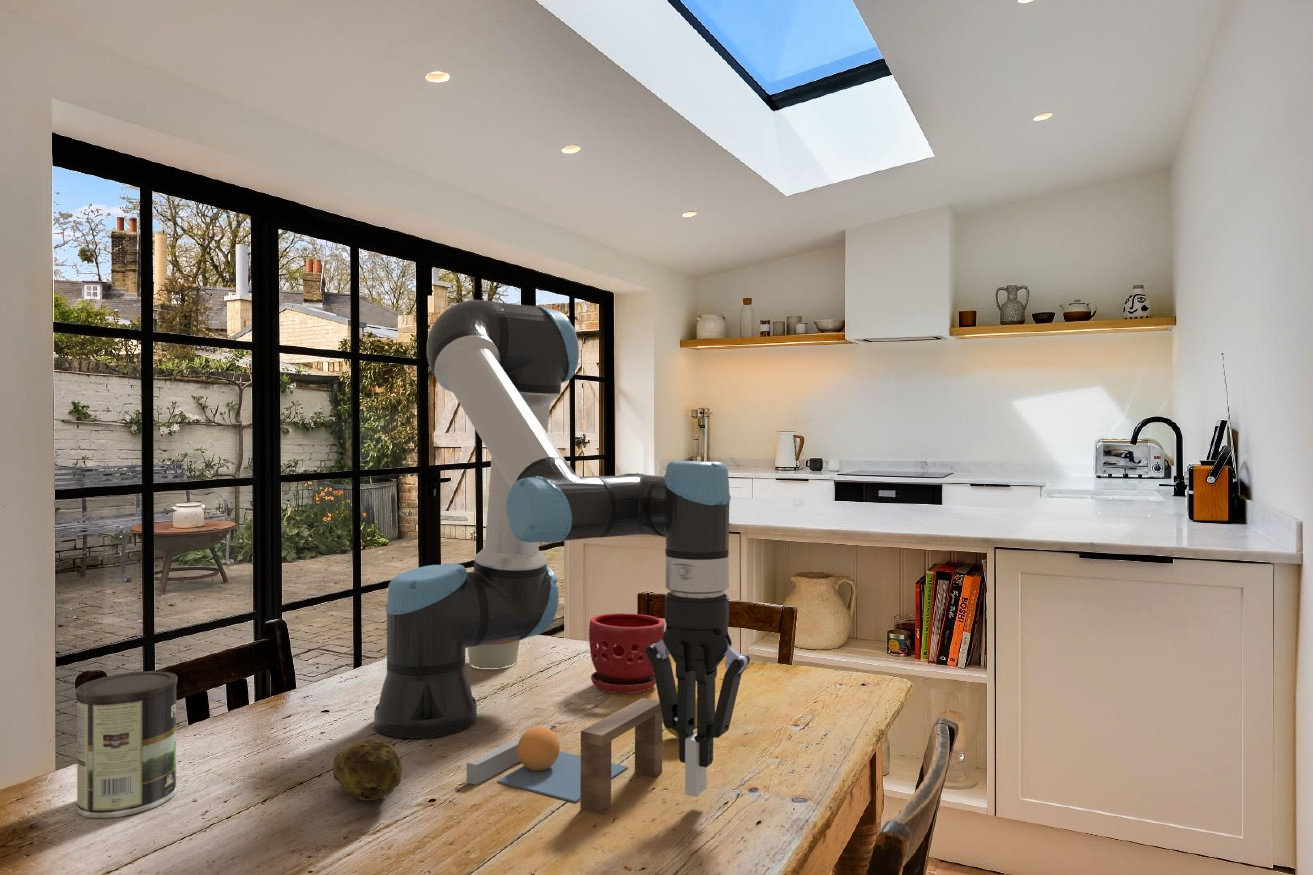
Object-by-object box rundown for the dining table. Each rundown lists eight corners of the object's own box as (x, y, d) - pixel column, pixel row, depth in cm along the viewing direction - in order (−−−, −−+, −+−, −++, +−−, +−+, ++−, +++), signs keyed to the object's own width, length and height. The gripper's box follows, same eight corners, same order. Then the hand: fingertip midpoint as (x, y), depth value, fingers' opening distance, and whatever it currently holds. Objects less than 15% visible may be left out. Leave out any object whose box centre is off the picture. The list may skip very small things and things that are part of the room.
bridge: (580, 809, 98) (580, 730, 98) (642, 767, 111) (642, 697, 111) (601, 815, 97) (602, 735, 97) (662, 771, 109) (662, 701, 109)
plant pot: (639, 703, 138) (639, 630, 138) (574, 690, 144) (574, 621, 144) (677, 683, 149) (677, 616, 149) (615, 672, 156) (615, 608, 156)
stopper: (466, 782, 106) (466, 762, 106) (543, 742, 120) (543, 724, 120) (476, 784, 105) (476, 764, 105) (552, 744, 119) (552, 726, 119)
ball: (550, 765, 106) (522, 784, 108) (574, 750, 110) (547, 769, 112) (529, 726, 107) (502, 746, 109) (554, 713, 112) (527, 732, 114)
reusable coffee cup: (506, 651, 170) (507, 578, 170) (538, 665, 160) (538, 586, 160) (449, 661, 162) (449, 584, 162) (478, 676, 152) (478, 594, 152)
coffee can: (163, 775, 107) (164, 665, 107) (187, 800, 100) (188, 682, 100) (67, 799, 100) (67, 681, 100) (84, 828, 93) (85, 701, 93)
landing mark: (497, 781, 106) (497, 780, 106) (553, 751, 116) (553, 749, 116) (575, 802, 100) (575, 800, 100) (627, 768, 110) (627, 766, 110)
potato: (403, 776, 107) (403, 713, 107) (401, 820, 95) (402, 749, 95) (334, 783, 105) (334, 719, 105) (323, 829, 93) (323, 757, 93)
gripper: (633, 591, 99) (632, 791, 99) (734, 602, 92) (733, 816, 92) (663, 582, 105) (662, 769, 105) (760, 591, 99) (759, 791, 99)
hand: (695, 791), depth 99 cm, fingers closed
